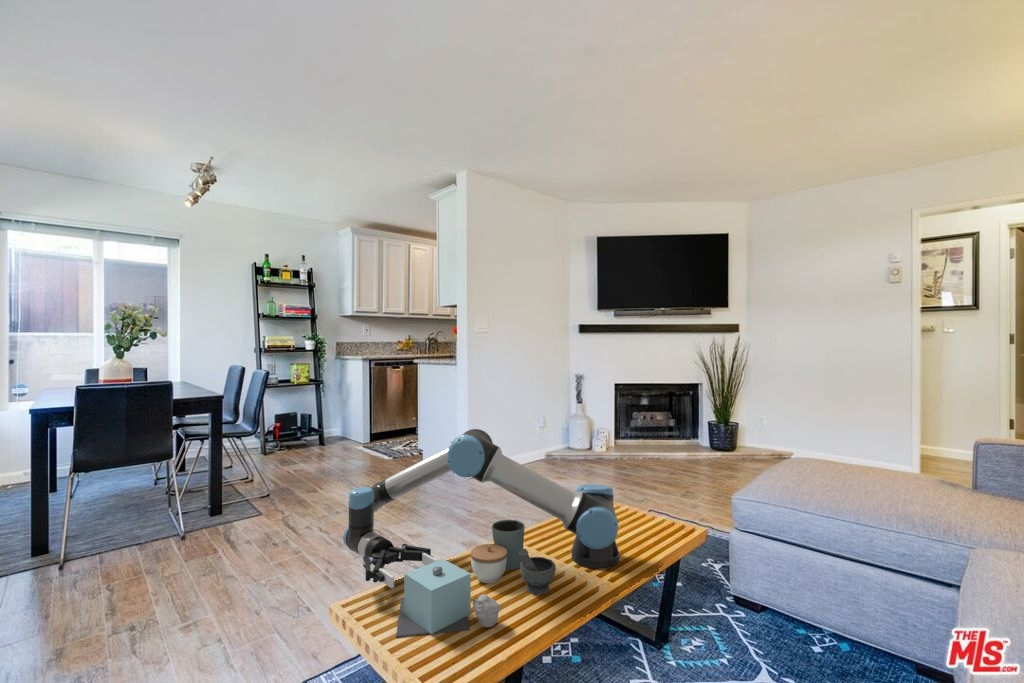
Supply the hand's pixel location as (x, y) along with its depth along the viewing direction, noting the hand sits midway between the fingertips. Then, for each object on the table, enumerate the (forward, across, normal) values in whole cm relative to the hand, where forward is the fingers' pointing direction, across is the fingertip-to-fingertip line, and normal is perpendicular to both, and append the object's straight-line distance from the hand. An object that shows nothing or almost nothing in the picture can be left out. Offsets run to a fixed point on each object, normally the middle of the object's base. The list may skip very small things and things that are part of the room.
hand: (415, 573), depth 123 cm
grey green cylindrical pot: (+2, -32, -7) cm, 33 cm away
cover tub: (+10, 0, -7) cm, 12 cm away
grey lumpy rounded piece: (+22, -6, -7) cm, 24 cm away
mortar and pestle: (+19, -27, -7) cm, 34 cm away
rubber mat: (+8, 0, -7) cm, 11 cm away
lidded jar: (+4, -22, -7) cm, 24 cm away
